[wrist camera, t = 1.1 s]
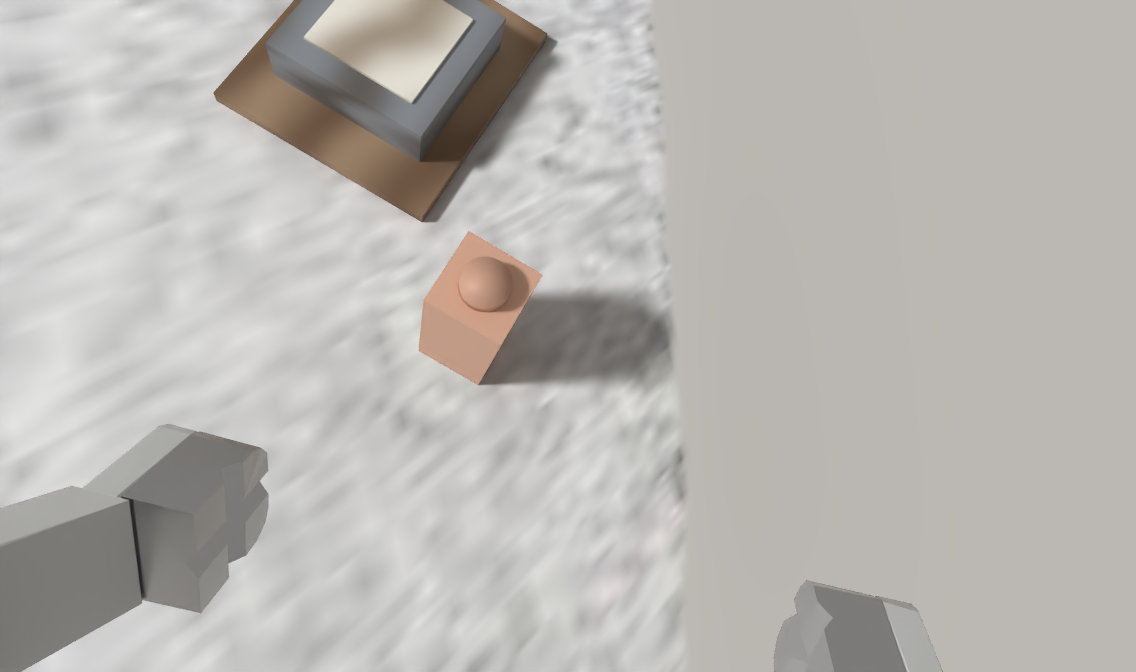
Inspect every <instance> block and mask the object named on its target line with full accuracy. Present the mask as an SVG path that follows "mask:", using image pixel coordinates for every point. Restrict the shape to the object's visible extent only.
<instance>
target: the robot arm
mask: <svg viewBox="0 0 1136 672" xmlns="http://www.w3.org/2000/svg"><path fill="white" fill-rule="evenodd" d="M267 471H268V460H267V452H265V451H264V450H263V449H262V448H259V447H256V446H252V445H248V444H244V443H241V442H237V441H233V440H230V439H226V438H222V437H218V436H215V435H211V434H207V433H203V432H197V431H193V430H190V429H186V428H182V427H179V426H175V425H171V424H166V425H162V426H158V427H157V428H155V429H154V430H153V431H152V432H150V433H149V434H148V435H147V436H146V437H144V438H143V439H142V440H141V441H139V442H138V443H137V444H136V445H135V446H133V447H132V448H131V449H130V450H128V451H127V452H126V453H125V454H124V455H122V456H121V457H120V458H119V459H117V460H116V461H115V462H114V463H113V464H111V465H110V466H109V467H108V468H106V469H105V470H104V471H103V472H101V473H100V474H99V475H98V476H97V477H95V478H94V479H93V480H92V481H90V482H89V483H88V484H87V485H86V486H84V487H83V488H79V487H74V486H70V487H67V488H64V489H60V490H57V491H54V492H51V493H48V494H44V495H41V496H38V497H35V498H32V499H29V500H25V501H22V502H19V503H16V504H13V505H9V506H6V507H3V508H0V672H21V671H23V670H24V669H26V668H28V667H30V666H32V665H33V664H35V663H37V662H39V661H40V660H42V659H44V658H46V657H48V656H49V655H51V654H53V653H55V652H56V651H58V650H60V649H62V648H64V647H65V646H67V645H69V644H71V643H72V642H74V641H76V640H78V639H80V638H81V637H83V636H85V635H87V634H88V633H90V632H92V631H94V630H96V629H97V628H99V627H101V626H103V625H104V624H106V623H108V622H110V621H112V620H113V619H115V618H117V617H119V616H120V615H122V614H124V613H126V612H128V611H129V610H131V609H133V608H135V607H137V606H138V605H140V604H142V600H145V601H149V602H154V603H158V604H163V605H167V606H172V607H176V608H181V609H185V610H190V611H194V612H199V613H202V611H203V610H204V609H205V607H206V606H207V605H208V604H209V602H210V601H211V600H212V599H213V597H214V596H215V595H216V593H217V592H218V591H219V590H220V588H221V587H222V586H223V584H224V583H225V582H226V581H227V579H228V578H229V570H228V563H230V562H233V561H235V560H237V559H239V558H241V557H243V556H246V555H247V553H248V552H249V551H250V549H251V548H252V547H253V545H254V544H255V543H256V541H257V539H258V537H259V535H260V533H261V531H262V528H263V526H264V524H265V521H266V516H267V511H268V493H267V491H266V490H265V489H264V487H263V486H262V484H261V483H260V480H261V478H262V477H263V476H264V475H265V474H266V473H267ZM794 600H795V605H796V611H797V614H796V615H794V616H792V617H790V618H788V619H786V620H785V621H784V622H783V625H782V627H781V630H780V632H779V634H778V637H777V642H776V648H775V654H774V672H943V671H942V669H941V666H940V664H939V661H938V659H937V656H936V654H935V651H934V649H933V647H932V644H931V642H930V639H929V636H928V634H927V632H926V629H925V627H924V624H923V622H922V619H921V617H920V614H919V612H918V610H917V609H916V608H915V607H914V606H913V605H912V604H910V603H905V602H901V601H896V600H892V599H887V598H883V597H879V596H875V597H874V596H871V595H867V594H863V593H859V592H854V591H850V590H846V589H842V588H837V587H833V586H829V585H824V584H820V583H816V582H812V581H807V580H806V581H805V582H804V583H803V585H801V586H800V588H799V590H798V592H797V594H796V596H795V599H794Z"/></svg>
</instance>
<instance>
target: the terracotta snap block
mask: <svg viewBox="0 0 1136 672" xmlns="http://www.w3.org/2000/svg"><path fill="white" fill-rule="evenodd" d="M541 277H542V274H540V273H539V272H537V271H535V270H534V269H532V268H530V267H529V266H527V265H525V264H524V263H522V262H520V261H518V260H517V259H515V258H513V257H512V256H510V255H508V254H507V253H505V252H503V251H502V250H500V249H498V248H497V247H495V246H493V245H492V244H490V243H488V242H487V241H485V240H483V239H481V238H480V237H478V236H476V235H475V234H473V233H471V232H470V231H468V233H467V234H466V236H465V237H464V239H463V240H462V242H461V244H460V245H459V247H458V248H457V250H456V251H455V253H454V254H453V256H452V257H451V259H450V260H449V262H448V264H447V265H446V267H445V268H444V270H443V271H442V273H441V274H440V276H439V277H438V279H437V280H436V282H435V284H434V285H433V287H432V288H431V290H430V291H429V293H428V294H427V296H426V297H425V299H424V302H423V312H422V322H421V332H420V342H419V351H420V352H422V353H423V354H425V355H427V356H429V357H430V358H432V359H434V360H436V361H437V362H439V363H441V364H443V365H444V366H446V367H448V368H449V369H451V370H453V371H455V372H456V373H458V374H460V375H462V376H463V377H465V378H467V379H469V380H470V381H472V382H474V383H475V384H477V385H479V383H480V381H481V380H482V378H483V376H484V374H485V373H486V371H487V369H488V368H489V366H490V364H491V363H492V361H493V359H494V357H495V356H496V354H497V352H498V351H499V349H500V347H501V346H502V344H503V342H504V341H505V339H506V337H507V335H508V334H509V332H510V330H511V329H512V327H513V325H514V323H515V322H516V320H517V318H518V317H519V315H520V313H521V311H522V310H523V308H524V306H525V304H526V303H527V301H528V299H529V297H530V296H531V294H532V292H533V290H534V289H535V287H536V285H537V284H538V282H539V280H540V278H541Z"/></svg>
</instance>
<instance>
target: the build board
mask: <svg viewBox="0 0 1136 672" xmlns="http://www.w3.org/2000/svg"><path fill="white" fill-rule="evenodd" d="M546 37H547V33H546V32H544V31H542V30H541V29H539V28H538V27H536V26H534V25H533V24H531V23H530V22H528V21H526V20H525V19H523V18H522V17H520V16H518V15H517V14H515V13H514V12H512V11H510V10H509V9H507V8H505V7H504V6H502V5H501V4H499V3H497V2H496V1H494V0H294V1H293V2H292V3H291V5H290V6H289V7H288V8H287V9H286V10H285V11H284V13H283V14H282V15H281V16H280V17H279V18H278V19H277V21H276V22H275V23H274V24H273V25H272V26H271V27H270V29H269V30H268V31H267V32H266V33H265V34H264V35H263V37H262V38H261V39H260V40H259V41H258V42H257V44H256V45H255V46H254V47H253V48H252V49H251V50H250V52H249V53H248V54H247V55H246V56H245V57H244V58H243V60H242V61H241V62H240V63H239V64H238V65H237V66H236V68H235V69H234V70H233V71H232V72H231V73H230V74H229V76H228V77H227V78H226V79H225V80H224V81H223V82H222V84H221V85H220V86H219V87H218V88H217V89H216V90H215V92H214V95H215V98H216V100H217V101H218V102H220V103H222V104H223V105H225V106H227V107H228V108H230V109H232V110H234V111H235V112H237V113H239V114H240V115H242V116H244V117H245V118H247V119H249V120H250V121H252V122H254V123H255V124H257V125H259V126H261V127H262V128H264V129H266V130H267V131H269V132H271V133H272V134H274V135H276V136H277V137H279V138H281V139H283V140H284V141H286V142H288V143H289V144H291V145H293V146H294V147H296V148H298V149H299V150H301V151H303V152H304V153H306V154H308V155H310V156H311V157H313V158H315V159H316V160H318V161H320V162H321V163H323V164H325V165H326V166H328V167H330V168H331V169H333V170H335V171H337V172H338V173H340V174H342V175H343V176H345V177H347V178H348V179H350V180H352V181H353V182H355V183H357V184H359V185H360V186H362V187H364V188H365V189H367V190H369V191H370V192H372V193H374V194H375V195H377V196H379V197H380V198H382V199H384V200H386V201H387V202H389V203H391V204H392V205H394V206H396V207H397V208H399V209H401V210H402V211H404V212H406V213H408V214H409V215H411V216H413V217H414V218H416V219H418V220H419V221H421V222H422V221H423V220H424V218H425V217H426V215H427V214H428V212H429V211H430V210H431V208H432V207H433V205H434V204H435V202H436V201H437V199H438V198H439V196H440V195H441V193H442V192H443V190H444V189H445V187H446V186H447V185H448V183H449V182H450V180H451V179H452V177H453V176H454V174H455V173H456V171H457V170H458V168H459V167H460V165H461V164H462V163H463V161H464V160H465V158H466V157H467V155H468V154H469V152H470V151H471V149H472V148H473V146H474V145H475V143H476V142H477V141H478V139H479V138H480V136H481V135H482V133H483V132H484V130H485V129H486V127H487V126H488V124H489V123H490V121H491V120H492V118H493V117H494V116H495V114H496V113H497V111H498V110H499V108H500V107H501V105H502V104H503V102H504V101H505V99H506V98H507V96H508V95H509V94H510V92H511V91H512V89H513V88H514V86H515V85H516V83H517V82H518V80H519V79H520V77H521V76H522V74H523V73H524V72H525V70H526V69H527V67H528V66H529V64H530V63H531V61H532V60H533V58H534V57H535V55H536V54H537V52H538V51H539V50H540V48H541V47H542V45H543V44H544V42H545V40H546Z"/></svg>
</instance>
